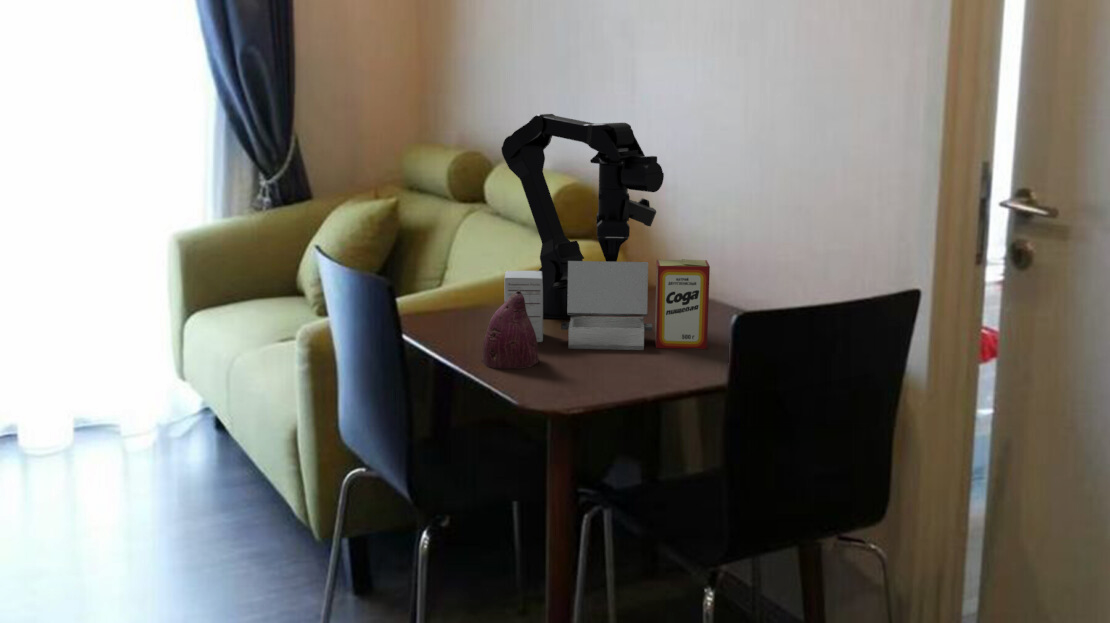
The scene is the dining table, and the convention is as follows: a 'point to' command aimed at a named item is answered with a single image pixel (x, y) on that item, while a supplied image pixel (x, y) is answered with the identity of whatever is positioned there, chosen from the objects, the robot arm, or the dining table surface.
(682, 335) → the baking soda box
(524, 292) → the supplement box
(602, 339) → the white rectangular box
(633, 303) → the lid
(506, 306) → the vegetable
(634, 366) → the dining table surface
